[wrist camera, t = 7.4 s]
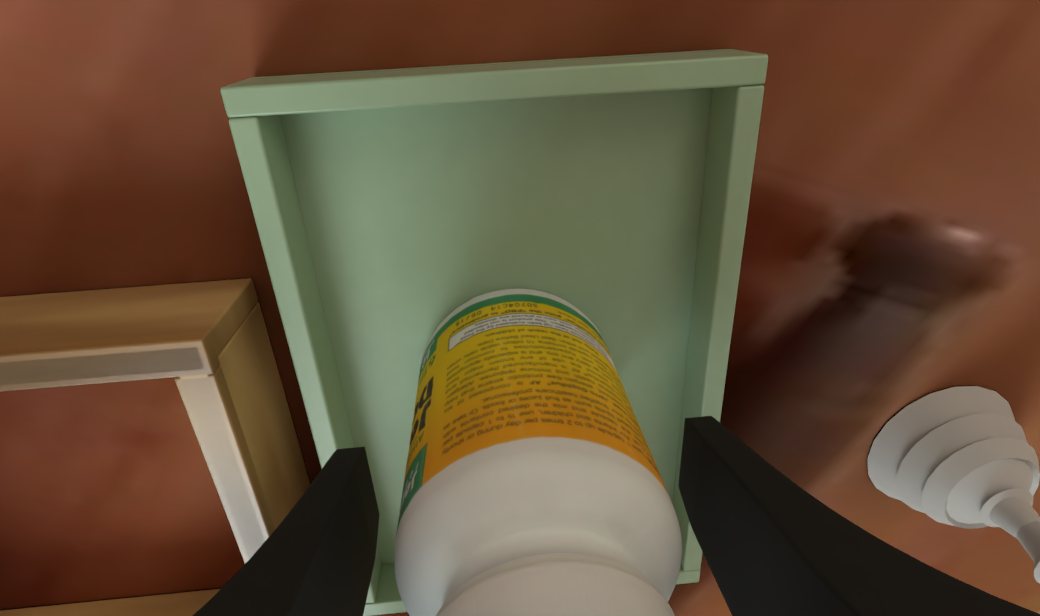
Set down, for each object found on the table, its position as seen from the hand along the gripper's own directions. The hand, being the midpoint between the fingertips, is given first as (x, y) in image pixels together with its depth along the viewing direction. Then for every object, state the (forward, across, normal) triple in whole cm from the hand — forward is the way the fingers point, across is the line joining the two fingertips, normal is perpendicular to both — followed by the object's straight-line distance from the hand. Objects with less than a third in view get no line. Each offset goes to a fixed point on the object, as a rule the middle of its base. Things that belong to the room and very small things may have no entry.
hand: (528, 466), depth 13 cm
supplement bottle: (+4, 0, 0) cm, 4 cm away
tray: (+5, 0, 0) cm, 5 cm away
